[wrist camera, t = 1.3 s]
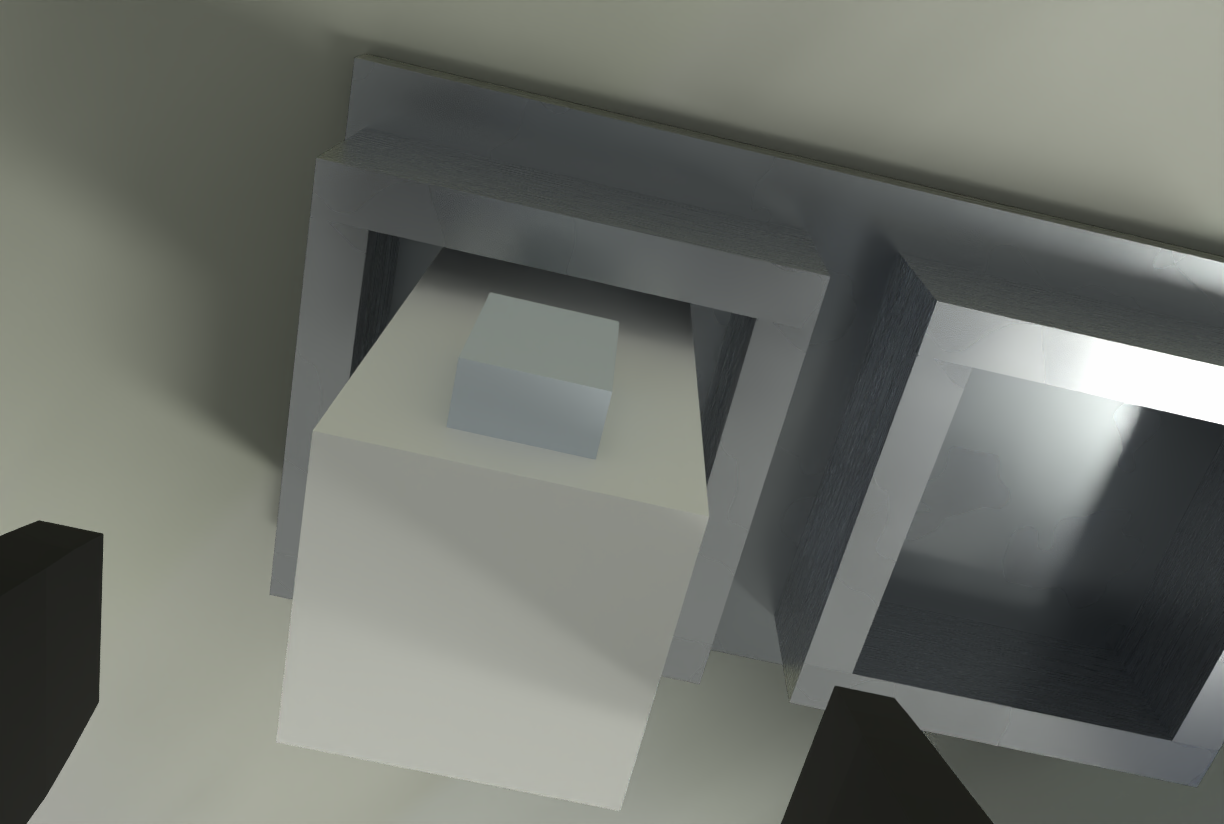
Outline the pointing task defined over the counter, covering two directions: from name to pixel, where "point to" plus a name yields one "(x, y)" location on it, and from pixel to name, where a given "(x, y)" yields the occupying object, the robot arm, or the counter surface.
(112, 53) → the counter surface
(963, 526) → the panel
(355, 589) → the plug
